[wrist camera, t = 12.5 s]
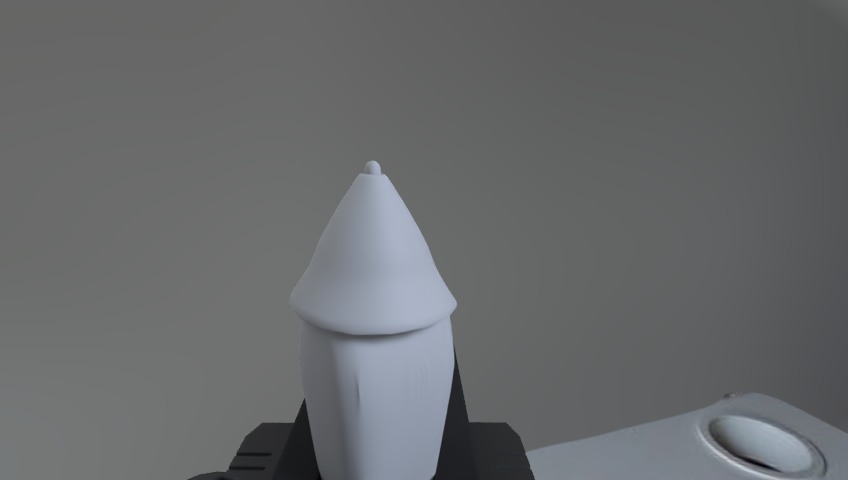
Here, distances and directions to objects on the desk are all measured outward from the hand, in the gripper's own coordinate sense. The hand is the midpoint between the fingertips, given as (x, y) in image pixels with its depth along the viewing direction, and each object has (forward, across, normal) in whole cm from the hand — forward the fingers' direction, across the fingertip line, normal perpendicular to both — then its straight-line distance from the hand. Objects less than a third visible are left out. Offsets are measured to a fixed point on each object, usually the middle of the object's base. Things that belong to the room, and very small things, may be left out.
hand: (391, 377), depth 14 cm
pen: (-6, 0, -8) cm, 9 cm away
